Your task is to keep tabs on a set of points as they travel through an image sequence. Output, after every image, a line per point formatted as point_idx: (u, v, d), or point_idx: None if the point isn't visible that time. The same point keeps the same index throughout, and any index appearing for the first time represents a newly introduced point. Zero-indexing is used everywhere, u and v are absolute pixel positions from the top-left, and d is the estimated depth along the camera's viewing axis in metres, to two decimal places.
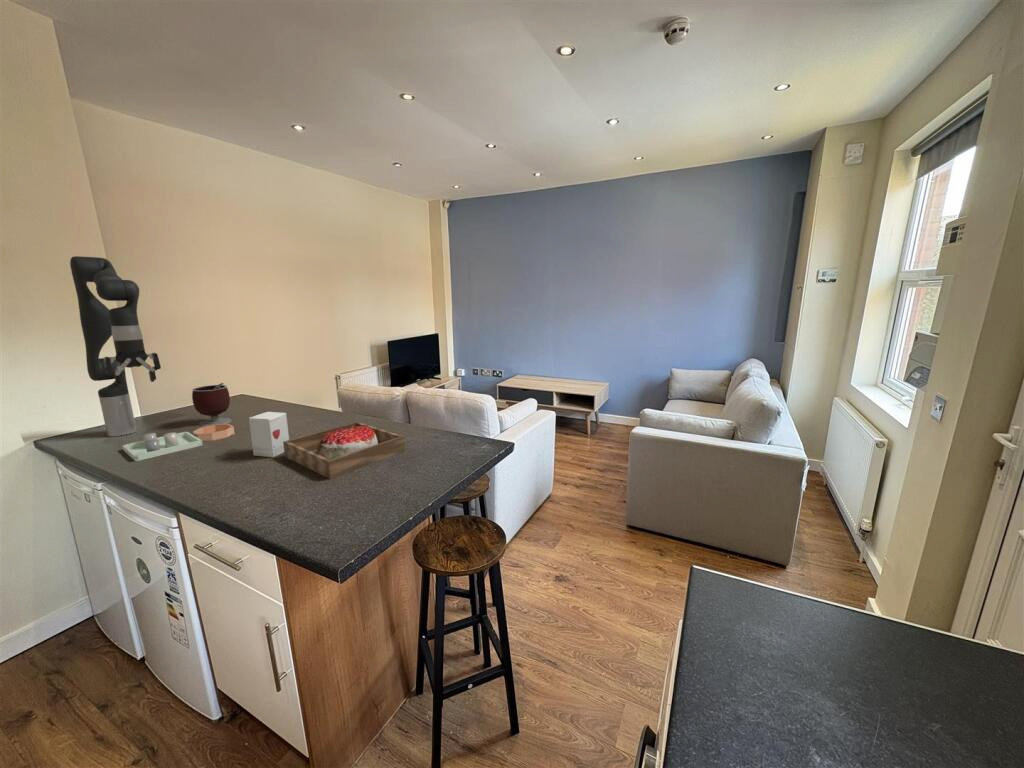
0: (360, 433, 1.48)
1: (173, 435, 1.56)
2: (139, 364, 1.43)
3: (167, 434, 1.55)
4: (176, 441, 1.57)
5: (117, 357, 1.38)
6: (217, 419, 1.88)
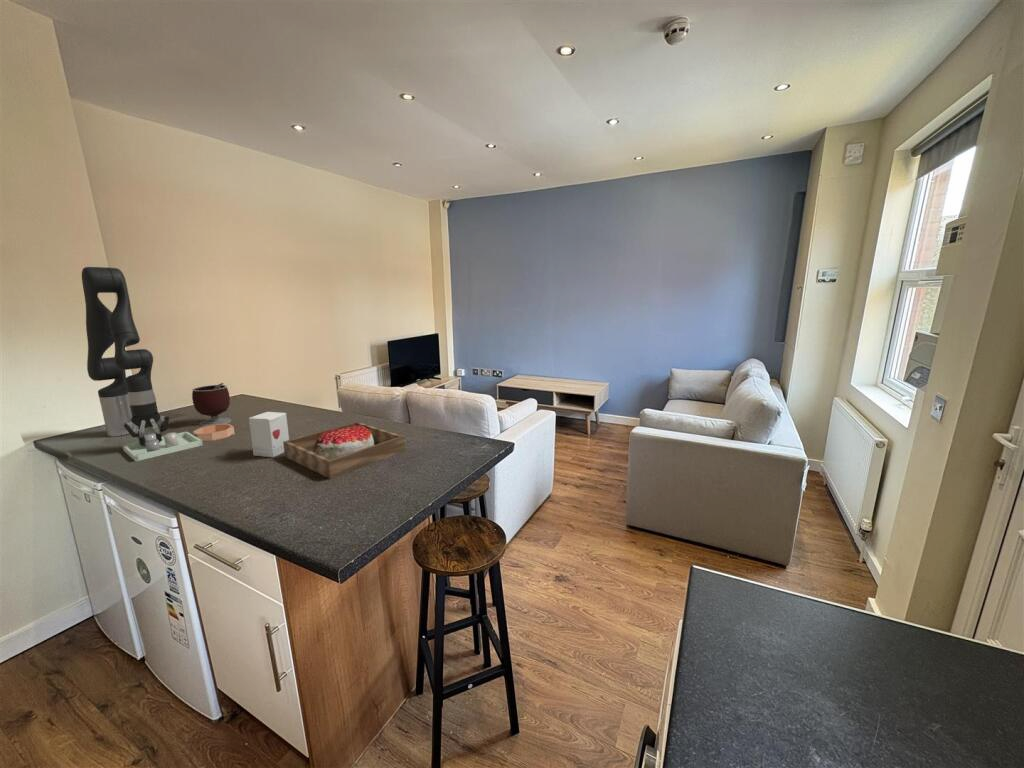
0: (356, 433, 1.49)
1: (173, 435, 1.56)
2: None
3: (167, 434, 1.55)
4: (176, 441, 1.57)
5: (133, 421, 1.50)
6: (217, 419, 1.88)
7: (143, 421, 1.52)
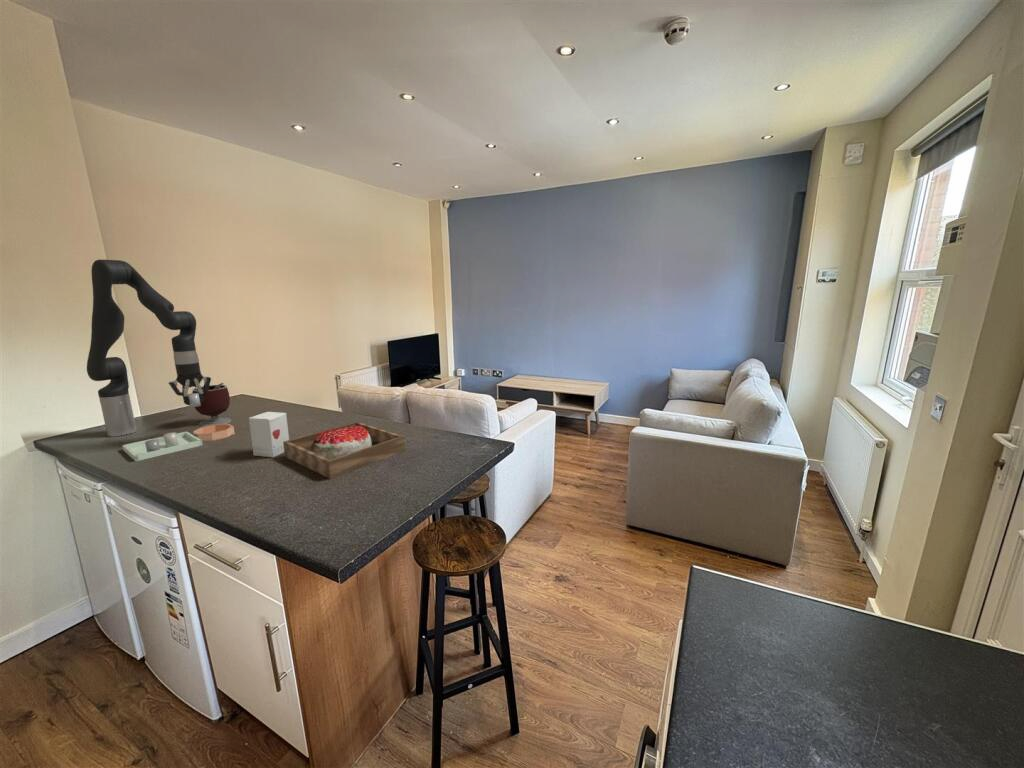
0: (353, 432, 1.49)
1: (173, 435, 1.56)
2: None
3: (167, 434, 1.55)
4: (176, 441, 1.57)
5: (178, 380, 1.57)
6: (217, 419, 1.88)
7: (187, 380, 1.59)
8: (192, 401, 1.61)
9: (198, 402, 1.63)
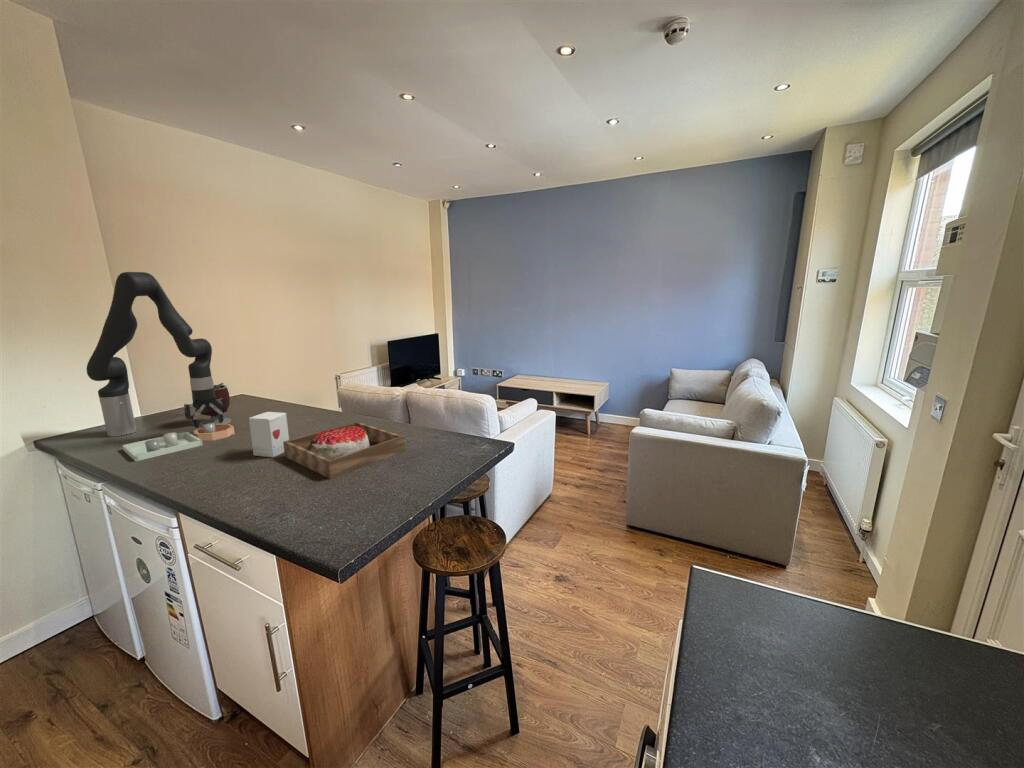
0: (350, 433, 1.48)
1: (173, 435, 1.56)
2: (211, 408, 1.67)
3: (167, 434, 1.55)
4: (176, 441, 1.57)
5: (194, 404, 1.63)
6: (217, 419, 1.88)
7: (203, 405, 1.64)
8: (208, 431, 1.67)
9: None
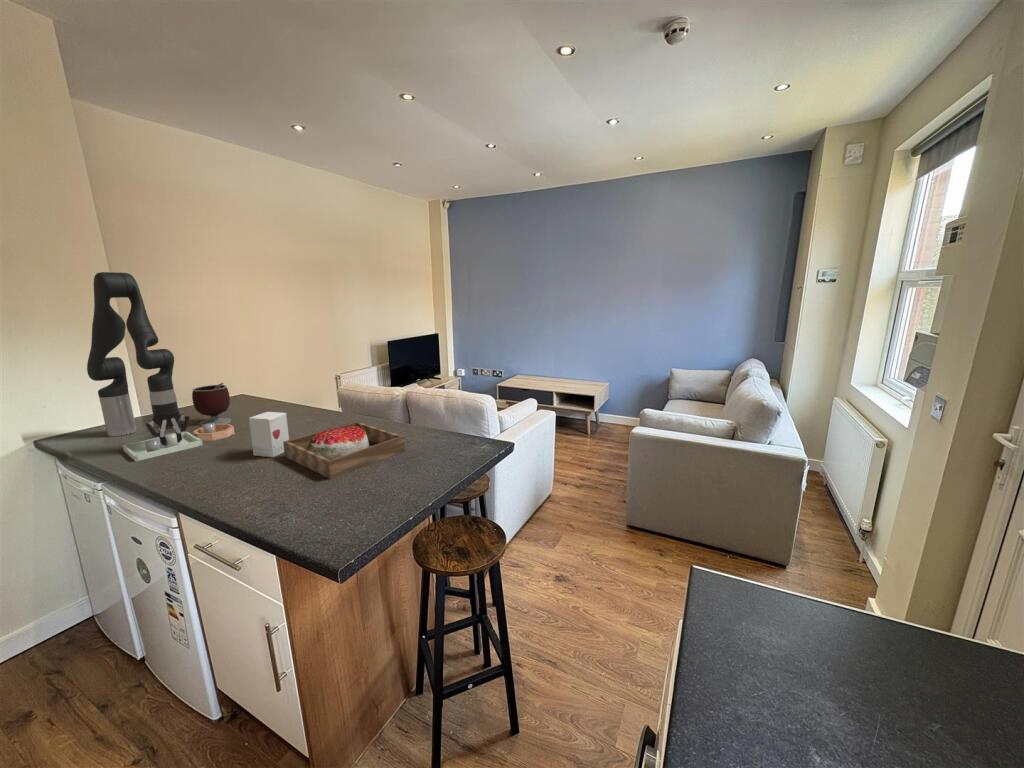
0: (349, 433, 1.48)
1: (173, 435, 1.56)
2: None
3: (167, 434, 1.55)
4: (176, 441, 1.57)
5: (154, 420, 1.51)
6: (217, 419, 1.88)
7: (164, 420, 1.53)
8: (208, 431, 1.67)
9: None
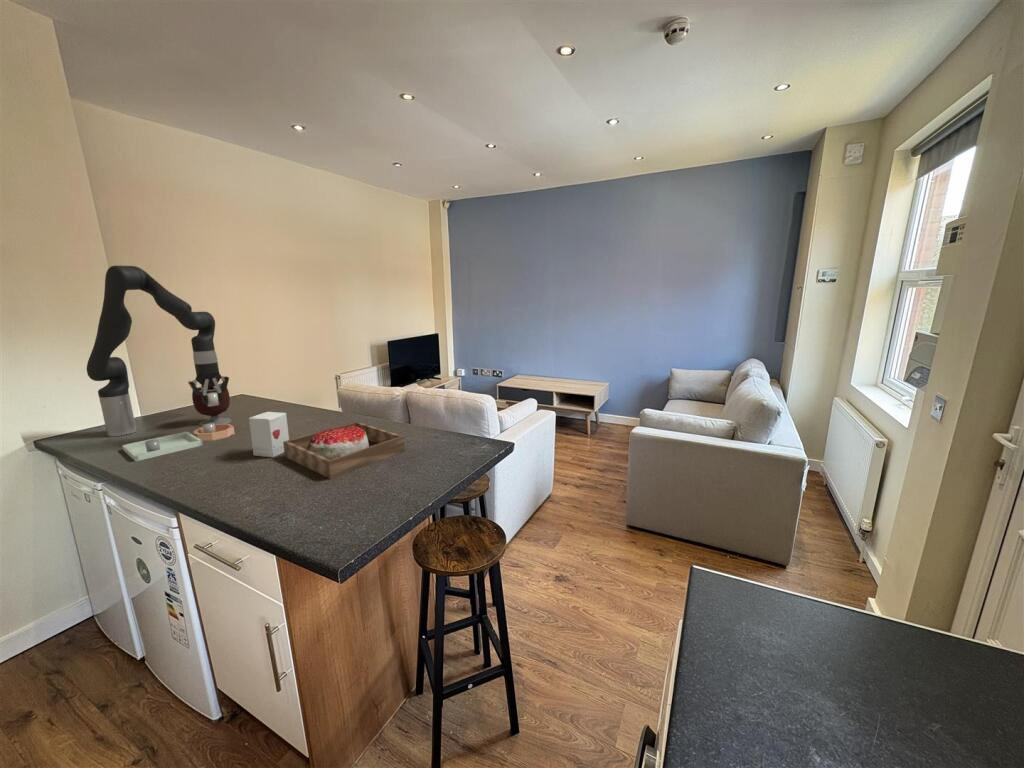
0: (348, 433, 1.48)
1: (214, 394, 1.64)
2: None
3: (208, 394, 1.63)
4: (217, 400, 1.65)
5: (197, 379, 1.59)
6: (217, 419, 1.88)
7: (206, 380, 1.61)
8: (208, 431, 1.67)
9: None
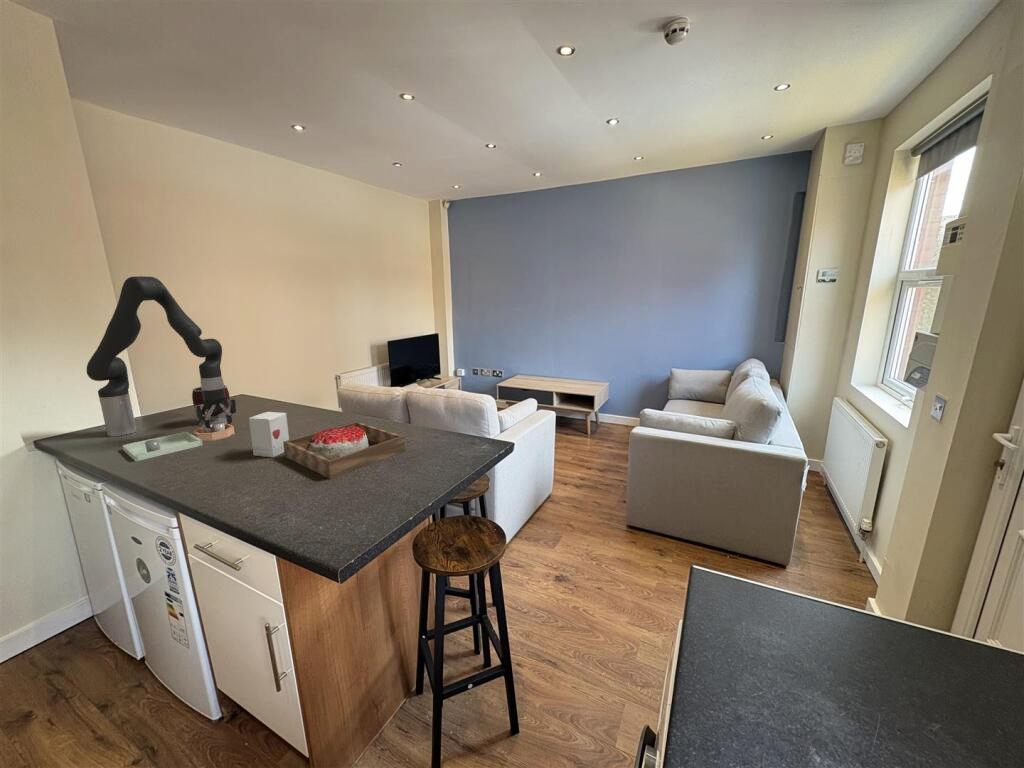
0: (348, 433, 1.48)
1: (222, 425, 1.68)
2: (221, 409, 1.67)
3: (216, 424, 1.67)
4: None
5: (205, 404, 1.62)
6: (217, 419, 1.88)
7: (213, 405, 1.64)
8: (208, 431, 1.67)
9: None
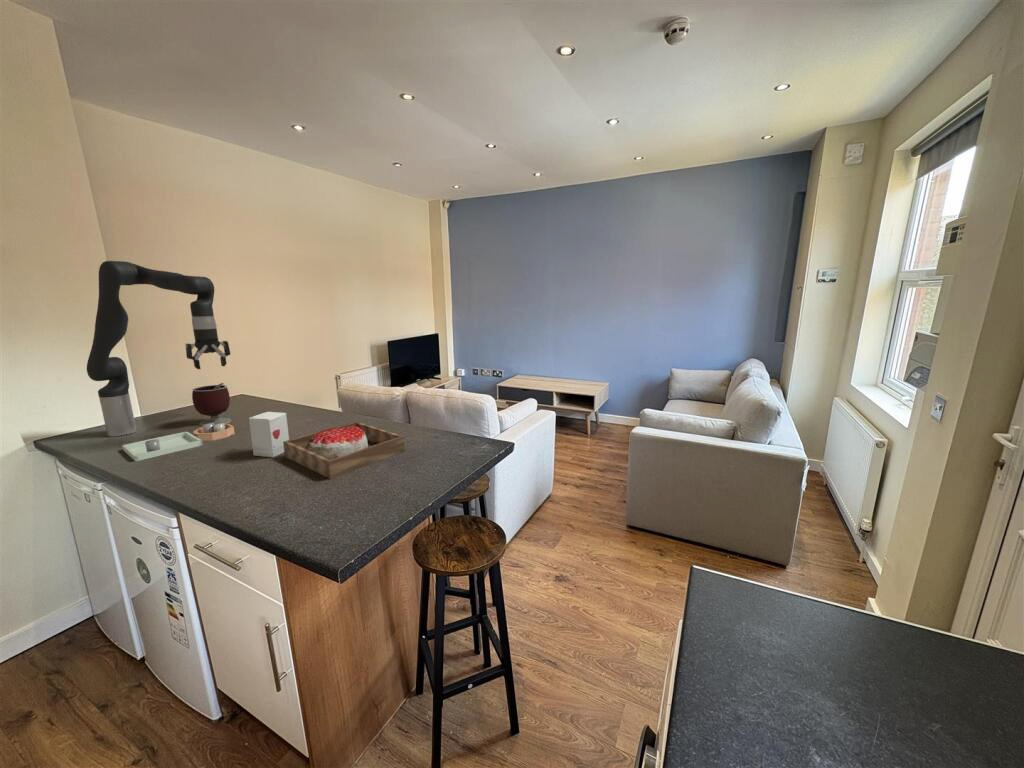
0: (346, 433, 1.48)
1: (222, 425, 1.68)
2: (213, 350, 1.62)
3: (216, 425, 1.67)
4: None
5: (196, 344, 1.58)
6: (217, 419, 1.88)
7: (205, 346, 1.59)
8: (208, 431, 1.67)
9: None
